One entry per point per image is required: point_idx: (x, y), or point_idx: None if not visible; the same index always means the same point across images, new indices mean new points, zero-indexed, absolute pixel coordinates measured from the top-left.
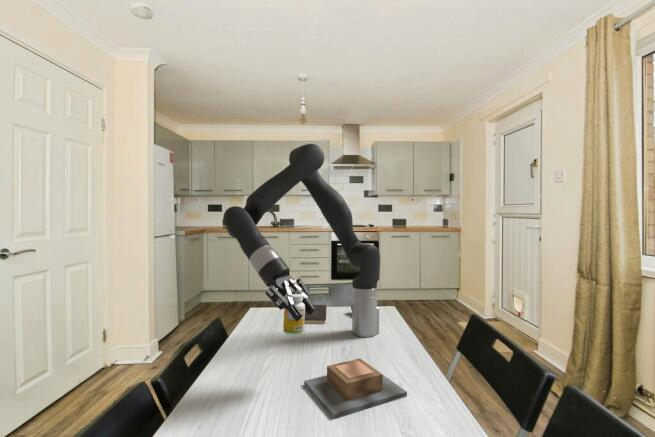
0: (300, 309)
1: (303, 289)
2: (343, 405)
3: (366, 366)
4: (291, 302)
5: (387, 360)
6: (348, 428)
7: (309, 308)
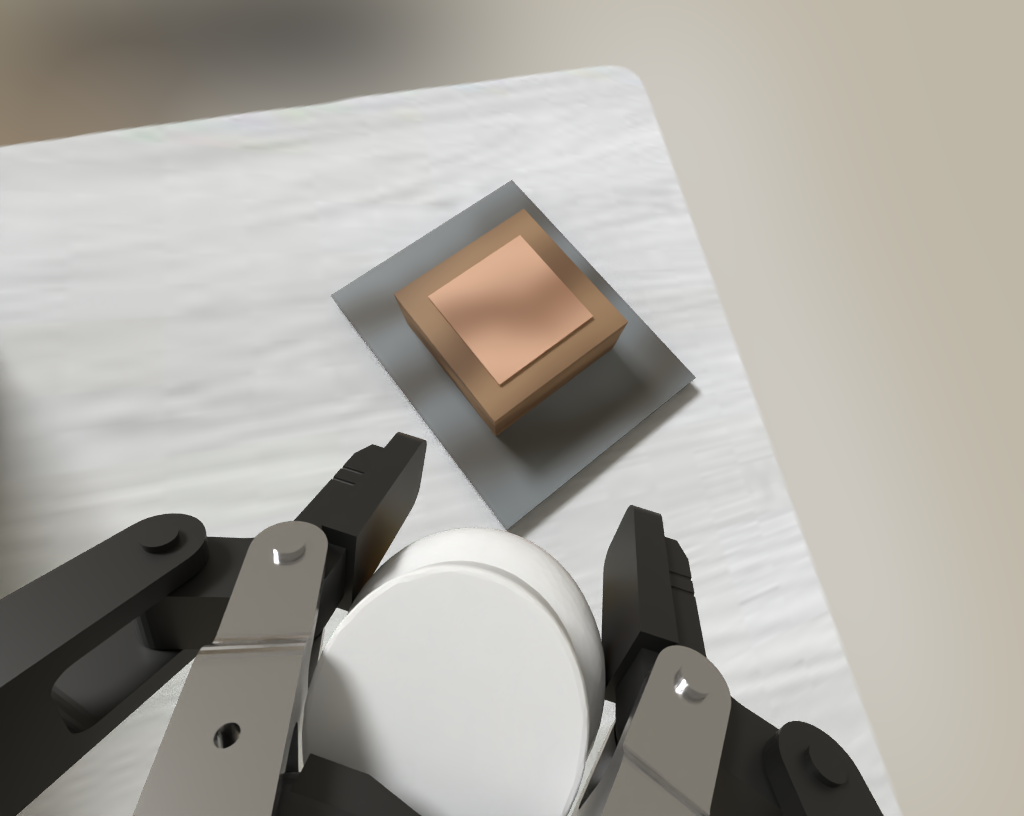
0: (553, 558)
1: (76, 655)
2: (640, 355)
3: (468, 264)
4: (708, 679)
5: (254, 240)
6: (719, 336)
7: (402, 490)
